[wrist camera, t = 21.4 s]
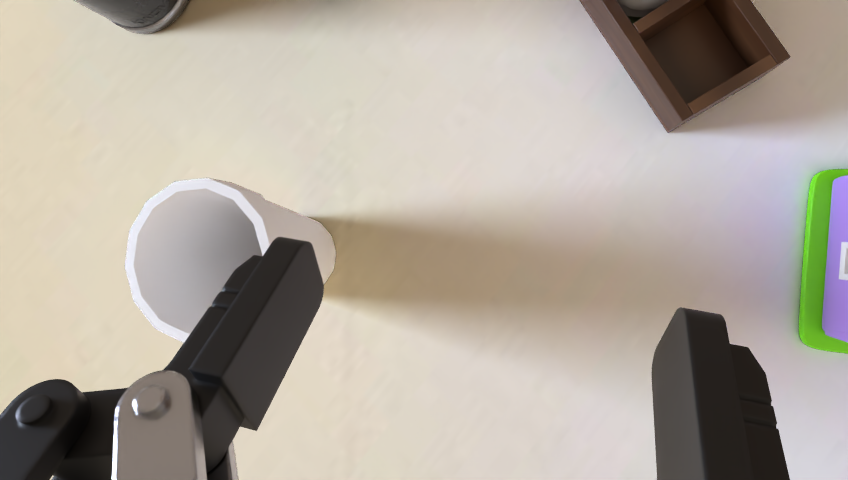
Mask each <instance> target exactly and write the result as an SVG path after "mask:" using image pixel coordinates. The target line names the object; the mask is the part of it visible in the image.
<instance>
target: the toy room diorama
mask: <svg viewBox="0 0 848 480" xmlns="http://www.w3.org/2000/svg"><path fill="white" fill-rule="evenodd" d="M799 335H800V339H801V341H802V342H803V343H804V344H805V345H807V346H809V347H812V348H815V349H819V350H824V351H831V352H839V353H848V169H833V170H825V171H821V172H819V173H817V174H815V176H814V177H813V178H812V180H811V183H810V188H809V196H808V206H807V216H806V228H805V240H804V253H803V266H802V280H801V295H800V311H799Z"/></svg>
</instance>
